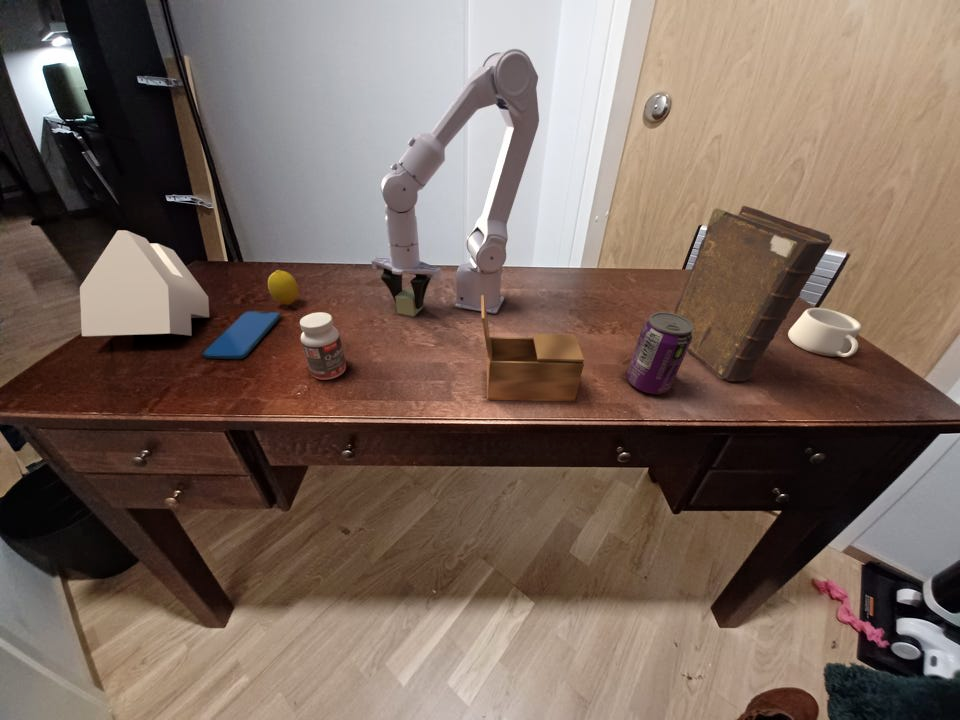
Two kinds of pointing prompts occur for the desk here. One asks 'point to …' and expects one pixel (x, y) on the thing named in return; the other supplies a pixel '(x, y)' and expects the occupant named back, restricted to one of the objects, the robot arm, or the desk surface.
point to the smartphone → (242, 335)
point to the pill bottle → (322, 346)
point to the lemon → (283, 287)
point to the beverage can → (659, 352)
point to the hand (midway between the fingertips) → (409, 304)
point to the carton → (534, 368)
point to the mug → (826, 332)
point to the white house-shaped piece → (139, 291)
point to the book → (745, 286)
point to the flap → (485, 326)
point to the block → (406, 303)
